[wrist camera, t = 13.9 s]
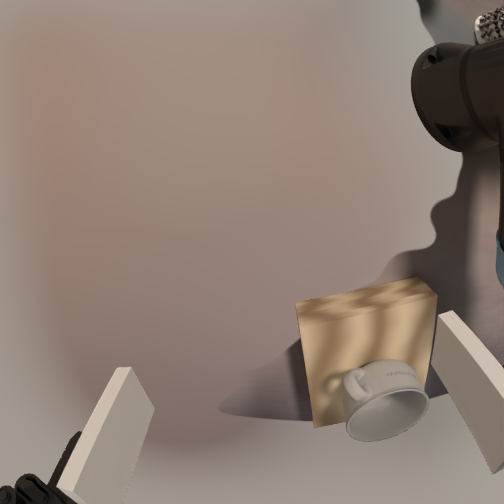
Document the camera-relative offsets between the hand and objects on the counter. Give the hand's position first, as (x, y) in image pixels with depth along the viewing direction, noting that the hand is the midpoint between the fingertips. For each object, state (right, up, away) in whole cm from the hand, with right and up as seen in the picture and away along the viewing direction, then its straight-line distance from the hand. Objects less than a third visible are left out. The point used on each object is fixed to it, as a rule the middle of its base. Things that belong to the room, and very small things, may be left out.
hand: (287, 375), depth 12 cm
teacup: (+14, -11, +26) cm, 32 cm away
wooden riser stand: (+15, -9, +31) cm, 36 cm away
